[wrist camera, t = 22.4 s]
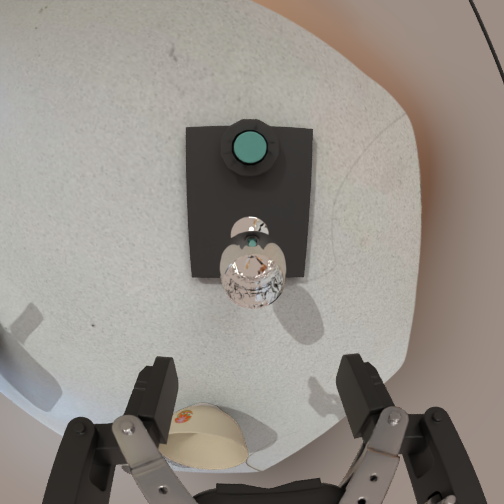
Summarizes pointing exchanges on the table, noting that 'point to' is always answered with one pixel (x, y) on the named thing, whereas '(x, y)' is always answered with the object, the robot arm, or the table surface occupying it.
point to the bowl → (205, 439)
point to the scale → (247, 191)
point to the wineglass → (252, 265)
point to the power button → (250, 147)
